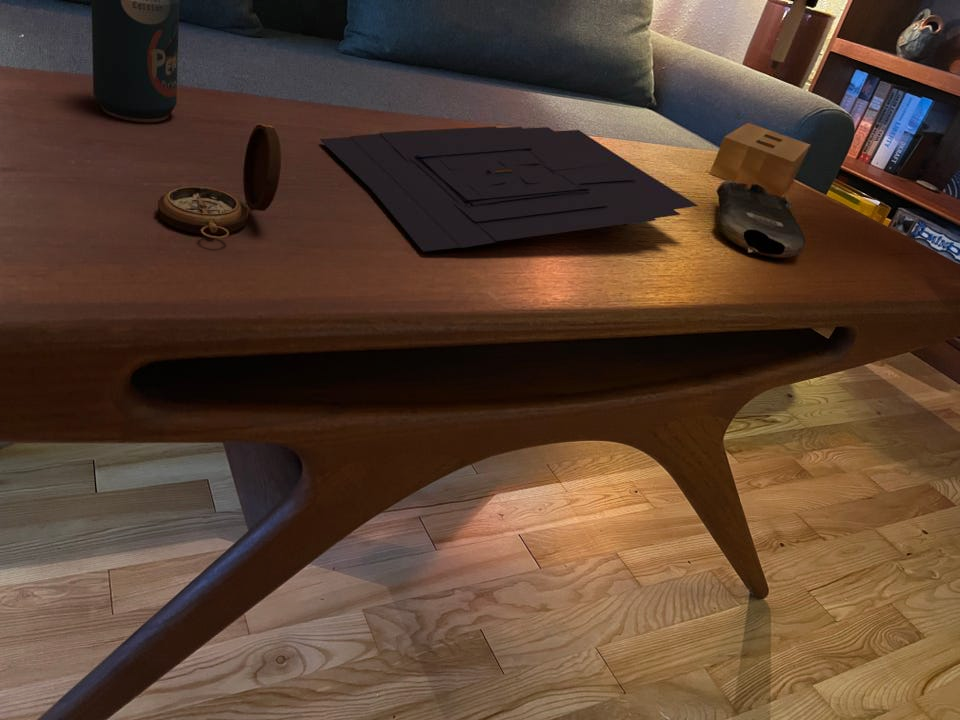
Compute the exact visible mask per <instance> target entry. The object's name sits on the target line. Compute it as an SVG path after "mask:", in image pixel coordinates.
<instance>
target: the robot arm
mask: <svg viewBox="0 0 960 720" xmlns="http://www.w3.org/2000/svg"><path fill="white" fill-rule="evenodd" d="M788 1H790V2H793V1H794V0H788ZM818 3H819V0H807V2H806V4H805V5H806V6H807V7H810V8H816V7H817V5H818Z"/></svg>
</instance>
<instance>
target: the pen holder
mask: <svg viewBox="0 0 960 720" xmlns="http://www.w3.org/2000/svg"><path fill="white" fill-rule="evenodd" d="M810 147H811V144H810V143H807V142H804V141H801V140H798V139H795V138H793V137H790V136H787V135H784V134H780V133H778V132H776V131H773V130H770V129H768V128H767V129H766V128H765V127H762V126H759V125H756V124H753V123H750V122H747V123H745V124H743V125H742V126H740V127H738V128H737V129H735V130H733V131H732V132H730V133H728V134H727V135H725V136H724V137H723V139H722V141H721V144H720V146H719V149H718V152H717V154H716V157H715V159H714V162H713V163H712V165H711V168H710V171H709V174H710V175H713V176H715V177H717V178H720V179H723V180H725V181H727V180H730V181H732V182H736V183H737V184H738V183H745V184H748V186H746V187H745V188H748V189H749V188H751V185H752V184H758V185H760V186H762V187H764V188H766V191H767V193H769V194H773V195H776V196H780V197H781V195H782V194H783V193H784V192H785V191H786V190H787V188H788V187H789V186H790V185H791V183H793V182H794V180H795V179H796V176H797V175H798V172H799V171H800V168H801V167H802V164H803V161H804V160H805V157H806V156H807V153H808V151H809V149H810Z"/></svg>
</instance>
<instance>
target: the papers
mask: <svg viewBox="0 0 960 720" xmlns="http://www.w3.org/2000/svg"><path fill="white" fill-rule="evenodd" d="M318 140H319V141H320V142H321V143H322V144H323V145H325V146H326V148H327V149H328V150H330V151H331V152H332V154H334V155H335V156H336V157H337V158H338V159H339V160H340V161H341V162H342V163H343V164H344V165H345V166H347V168H349V169H350V171H352V172H353V173H354V174H355V175H356V176H357V177H358V178H359V179H360V180H361V181H362V182H363V183H364V184H365V185H366V186H367V187H369V189H370V190H371V191H372V192H373V193H374V195H375V196H376V197H377V198H378V200H379V201H380V202H381V203H382V204H383V205H384V207H386V209H387V210H388V212H390V214H391V215H392V216H393V217H394V219H395V220H396V221H397V222H398V223H399V225H400V226H401V227H402V228H403V229H404V231H405V232H406V233H407V234H408V236H409V237H410V238H411V239H412V240H413V241H414V243H415V244H416V245H417V246H418V247H419V248H420V250H421V251H422V252H432V251H440V250H451V249H459V248H462V249H463V248H470V247H474V246H475V247H477V246H482V245H488V244H494V243H496V244H497V243H501V242H503V241H509V240H510V241H511V240H516V239H523V238H532V237H538V236H545V235H546V236H547V235H553V234H561V233H568V232H576V231H582V230H590V229H598V228H604V227H613V226H620V225H621V226H629V225H635V224H636V225H637V224H643V223H648V222H656V221H657V219H662V218H669V217H674V216H682V214H681V213H680V212H678V211H677V210H681V209H688V208H694V207H695V208H696V207H699V204H697V203H695V202H693V201H692V200H691V199H690V198H687V197H686V196H684V195H683V194H681V193H679V192H677V191H676V190H674V189H672V188H671V187H669V186H668V185H666V184H664V183H663V182H662V181H659V180H658V179H656V178H655V177H653V176H652V175H650V174H648V173H647V172H645V171H644V170H642V169H640V168H638V167H637V166H635V165H634V164H633V163H631V162H629V161H628V160H626V159H624V158H623V157H621V156H620V155H618V154H616V153H615V152H614V151H612V150H610V149H609V148H607V147H606V146H604V145H603V144H601V143H600V142H598V141H597V140H595V139H594V138H592V137H590V136H589V135H587V134H586V133H584V132H583V131H581V130H579V129H572V130H553V129H552V128H550V127H548V126H547V127H545V126H544V127H543V126H542V127H522V126H510V127H509V126H508V127H507V126H506V127H497V126H479V127H462V128H461V127H459V128H458V127H457V128H444V129H443V128H441V129H440V128H439V129H423V130H407V131H406V130H405V131H388V132H387V131H385V132H379V133H370V134H359V135H349V136H345V137H331V138H319V139H318Z"/></svg>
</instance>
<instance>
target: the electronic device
mask: <svg viewBox="0 0 960 720" xmlns="http://www.w3.org/2000/svg"><path fill="white" fill-rule="evenodd" d="M746 186H748V184H745V183H738V184H737V183H736V182H732V181H730V180H725V181H722V182H721V183H720V184H719V185H718V187H717V189H716V194H717V199H718V210H719V213H718V214H717V217H716V219H717V220H716V222H717V224H716V225H717V228H718V231H719V232H720V233H721V234H722V235H723V236H724V237H725V238H726V239H727V241H729V242H731V243H733V244H734V245H736V246H738V247H739V248H740V249H743V250H746V251H747V253H754V254H757V255H761V256H763V257H764V256H765V257H768V258H776V259H787V258H793V257H797V256H798V255H800V254H801V253H802V252H803V250H804V247H805V243H806V237H805V234H804V232H803V230H802V228H801V226H800V224H799V222H798V221H797V219H796V217H795V216H794V214H793V212H792V211H791V209H792V208H793V207H792V204H793V202H792V201H791V200H790V199H789V198H788V197H786V196H784V197H783V196H781V195H780V196H776V195H773V194H769V193H767V191H766V188H764V187H762V186H760V185H758V184H752V185H751V188H746Z"/></svg>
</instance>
